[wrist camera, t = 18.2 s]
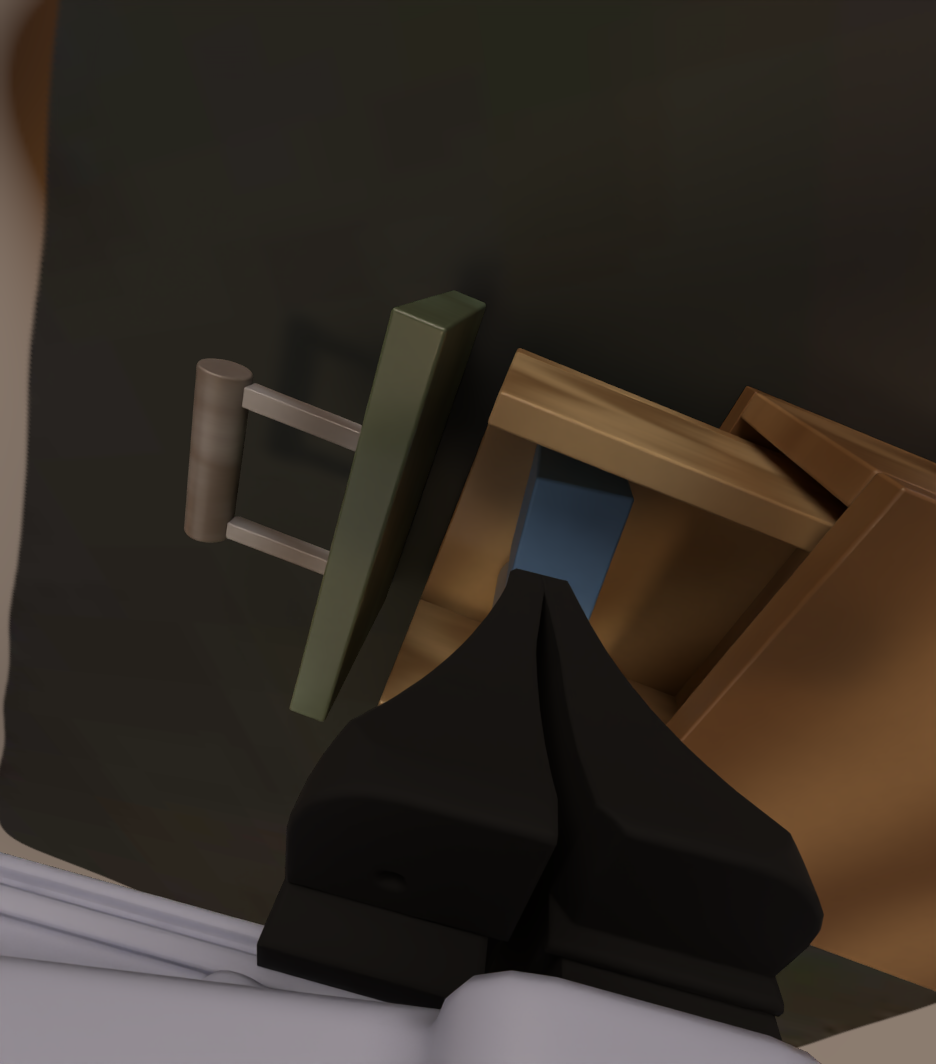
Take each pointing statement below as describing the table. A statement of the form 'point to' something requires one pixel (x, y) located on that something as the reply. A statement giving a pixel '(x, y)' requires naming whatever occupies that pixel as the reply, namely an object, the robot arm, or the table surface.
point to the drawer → (515, 509)
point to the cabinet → (842, 693)
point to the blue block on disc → (568, 524)
